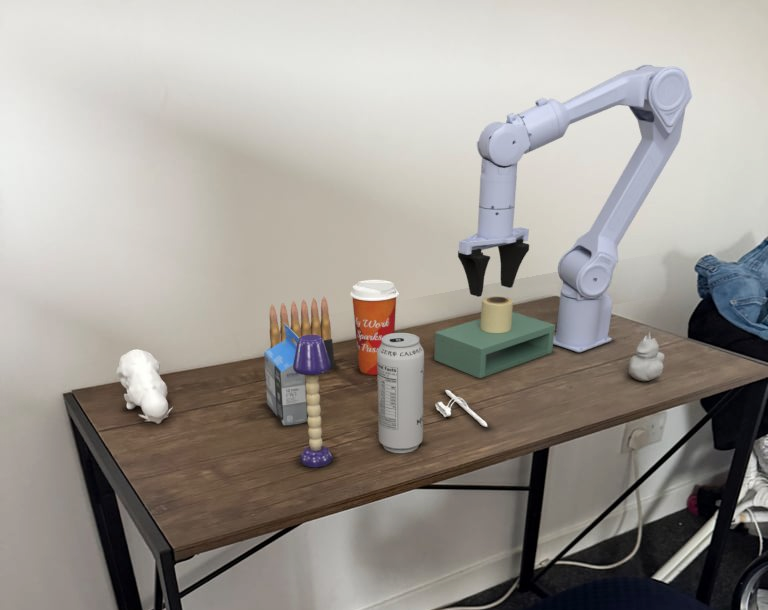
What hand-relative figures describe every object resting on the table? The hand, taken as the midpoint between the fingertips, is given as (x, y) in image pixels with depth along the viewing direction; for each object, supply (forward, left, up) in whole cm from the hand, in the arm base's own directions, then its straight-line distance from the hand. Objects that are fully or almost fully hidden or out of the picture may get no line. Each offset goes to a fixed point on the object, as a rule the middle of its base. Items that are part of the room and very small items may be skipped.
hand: (491, 290), depth 129 cm
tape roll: (+2, +3, -5) cm, 6 cm away
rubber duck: (-9, +26, -11) cm, 30 cm away
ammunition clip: (+31, -13, -11) cm, 35 cm away
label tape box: (+42, -1, -11) cm, 43 cm away
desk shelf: (+2, +3, -10) cm, 11 cm away
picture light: (+23, +15, -11) cm, 29 cm away
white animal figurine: (+57, -14, -11) cm, 60 cm away
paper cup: (+21, -6, -11) cm, 24 cm away
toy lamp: (+47, +14, -11) cm, 50 cm away
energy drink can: (+36, +18, -11) cm, 42 cm away
